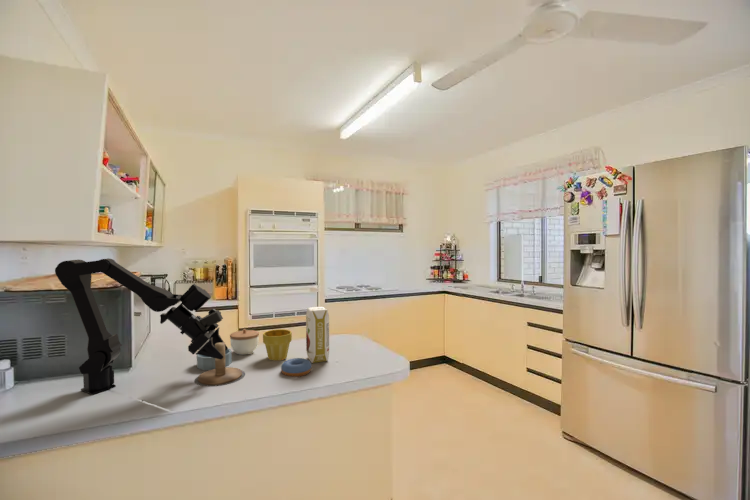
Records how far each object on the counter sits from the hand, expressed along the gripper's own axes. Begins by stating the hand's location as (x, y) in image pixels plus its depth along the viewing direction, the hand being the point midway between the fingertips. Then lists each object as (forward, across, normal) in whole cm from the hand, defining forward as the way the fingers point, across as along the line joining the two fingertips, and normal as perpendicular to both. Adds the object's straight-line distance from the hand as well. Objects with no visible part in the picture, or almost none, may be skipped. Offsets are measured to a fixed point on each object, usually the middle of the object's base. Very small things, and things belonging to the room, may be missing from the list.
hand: (224, 353), depth 118 cm
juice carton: (+27, +11, -16) cm, 33 cm away
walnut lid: (+4, 0, +6) cm, 8 cm away
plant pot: (+17, +16, -6) cm, 24 cm away
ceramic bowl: (+2, +14, +9) cm, 16 cm away
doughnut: (+22, -1, -10) cm, 24 cm away
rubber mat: (+4, 0, +6) cm, 8 cm away
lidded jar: (+8, +26, +3) cm, 27 cm away
